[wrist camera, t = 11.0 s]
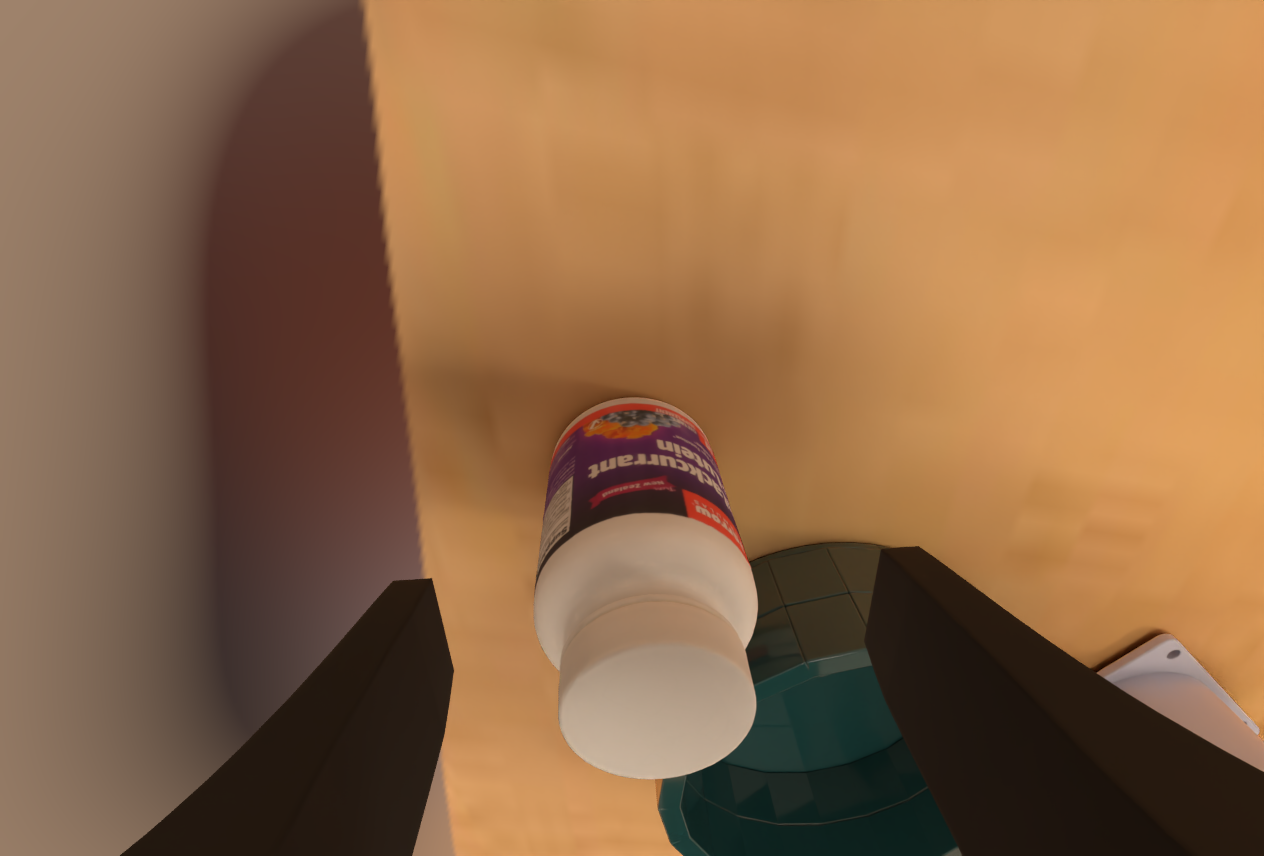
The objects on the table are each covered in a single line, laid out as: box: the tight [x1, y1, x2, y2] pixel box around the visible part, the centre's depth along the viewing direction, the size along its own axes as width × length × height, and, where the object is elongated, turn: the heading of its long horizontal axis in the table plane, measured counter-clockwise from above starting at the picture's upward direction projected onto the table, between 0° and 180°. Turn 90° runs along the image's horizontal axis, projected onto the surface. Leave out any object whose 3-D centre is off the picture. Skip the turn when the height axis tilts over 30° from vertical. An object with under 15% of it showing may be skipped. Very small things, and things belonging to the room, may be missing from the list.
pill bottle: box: [534, 397, 758, 779], centre depth 17 cm, size 5×5×10 cm
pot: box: [655, 543, 962, 856], centre depth 24 cm, size 14×14×5 cm
